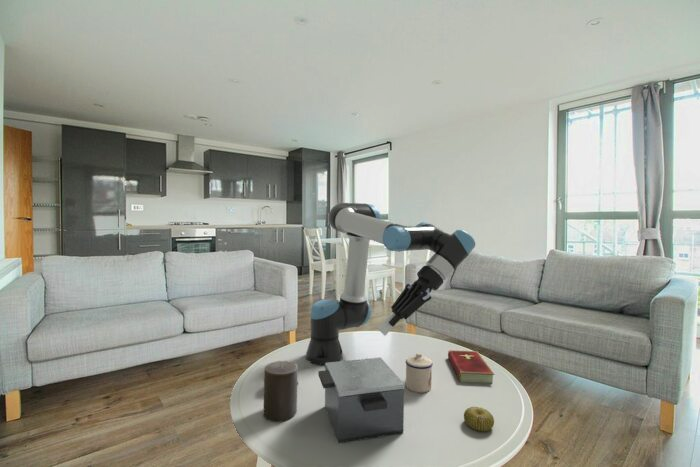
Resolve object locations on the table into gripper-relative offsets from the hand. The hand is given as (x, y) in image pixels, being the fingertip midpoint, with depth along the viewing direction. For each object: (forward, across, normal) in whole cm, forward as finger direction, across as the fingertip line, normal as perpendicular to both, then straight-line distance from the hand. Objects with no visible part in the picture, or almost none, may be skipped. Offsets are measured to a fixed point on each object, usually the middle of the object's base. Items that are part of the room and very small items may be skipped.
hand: (381, 332), depth 98 cm
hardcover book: (-13, +22, -50) cm, 56 cm away
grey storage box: (+22, 0, -14) cm, 26 cm away
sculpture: (0, -10, -36) cm, 38 cm away
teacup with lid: (+4, +16, -32) cm, 36 cm away
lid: (+14, 0, -4) cm, 15 cm away
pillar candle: (+38, +9, +2) cm, 39 cm away
